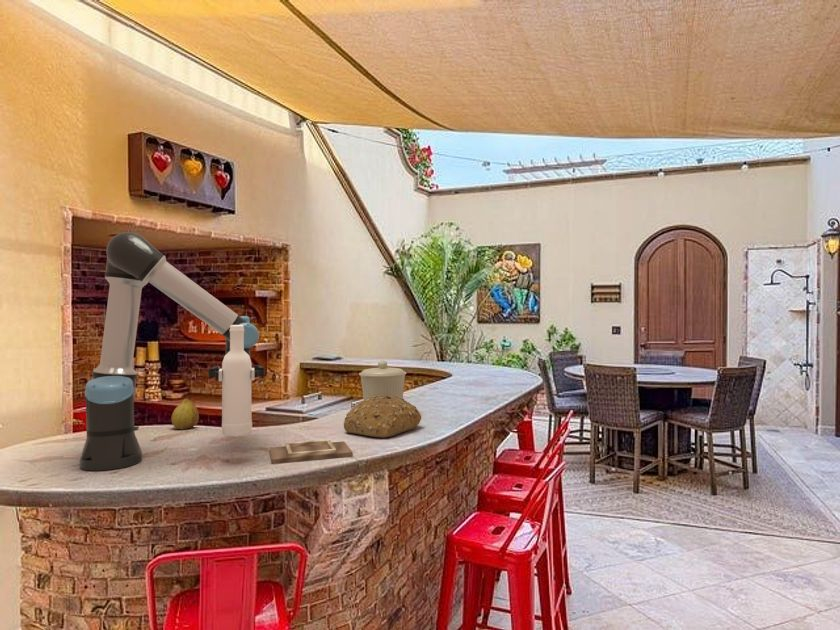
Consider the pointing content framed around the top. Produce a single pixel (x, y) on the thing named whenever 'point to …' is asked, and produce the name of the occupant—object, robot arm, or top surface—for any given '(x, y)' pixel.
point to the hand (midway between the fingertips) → (236, 375)
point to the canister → (382, 381)
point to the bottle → (236, 387)
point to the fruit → (185, 415)
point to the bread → (382, 417)
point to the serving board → (309, 451)
